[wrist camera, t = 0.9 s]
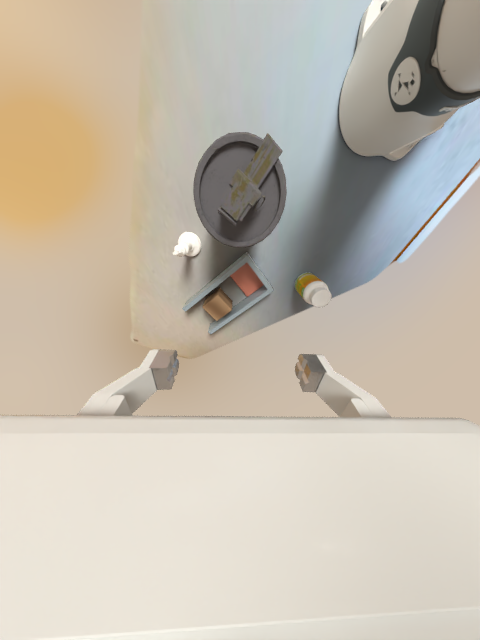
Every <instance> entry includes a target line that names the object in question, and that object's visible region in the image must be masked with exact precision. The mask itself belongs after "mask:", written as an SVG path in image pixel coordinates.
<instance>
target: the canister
mask: <svg viewBox="0 0 480 640" xmlns="http://www.w3.org/2000/svg"><path fill="white" fill-rule="evenodd" d="M281 153H282V150H281V149H280V147H279V146H278V145H277V144H276V143H275V141H274V140H273V139H272V138H271V136H270V135H269V134H267V135H266V137H265V138H264V140H263V139H261V138H260V137H258V136H256V135H254V134H251V133H248V132H236V133H228V134H226V135H225V136H223V137H221V138H219V139H217V140H216V141H215V142H214V143H213V144H212V145H211V146H210V147H209V148H208V149H207V151H206V152H205V153H204V155H203V156H202V158H201V160H200V161H199V163H198V166H197V170H196V173H195V178H194V200H195V206H196V210H197V213H198V216H199V218H200V220H201V222H202V224H203V226H204V227H205V228H206V230H207V231H208V232H209V233H210V234H211V235H212V236H213V237H214V238H215V239H217V240H218V241H220V242H221V243H223V244H225V245H228V246H231V247H237V248H241V247H249V246H252V245H255V244H257V243H259V242H261V241H262V240H264V239H265V238H266V237H267V236H268V235H269V234H271V232H272V231H273V229H274V228H275V227H276V225H277V224H278V222H279V220H280V218H281V215H282V213H283V210H284V207H285V200H286V178H285V174H284V170H283V167H282V164H281V162H280V160H279V159H278V158H279V156H280V155H281Z"/></svg>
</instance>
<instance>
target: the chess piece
mask: <svg viewBox="0 0 480 640" xmlns="http://www.w3.org/2000/svg"><path fill="white" fill-rule="evenodd" d="M200 250H201V242H200V239H199V238H198V236H197V235H195V234H194V233H191V232H185V233H183V234H182V235H181V236H180V237H179V240H178V245H176V246H175V248H174V252H173V254H174V255H175V254H176V255H177V256H180V257H182V256H184V255H187V256H196V255H197V254H198V253H199V252H200Z"/></svg>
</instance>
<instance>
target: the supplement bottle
mask: <svg viewBox="0 0 480 640" xmlns="http://www.w3.org/2000/svg"><path fill="white" fill-rule="evenodd" d="M295 289H296V290H297V292H298V293H299V294H300V295H301V297H302V298H303V299H304V300H305V301H306V302H307V303H308V304H311V305H314V306H315V307H323V306H326V305H327V304H328V303H329V302H330V300H331V297H332V295H331V293H330V291H329V289H328V286H327V285H326V284H325V283H324V282H323V281H321V280H320V279H319V278H317V277H316V276H315V275H313V274H312V273H303V274H301V275H300V276H299V277H298V278H297V279H296V281H295Z"/></svg>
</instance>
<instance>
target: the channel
mask: <svg viewBox="0 0 480 640" xmlns="http://www.w3.org/2000/svg"><path fill="white" fill-rule="evenodd" d="M229 276H231V278H232V279H233V280H234V281H235V282H236V284H237V285H238V286H239V287H240V288H241V290H242V291H243V292H244V293H245V294H246V296H247V298H245V299H244V300H243V301H241V302H240V303H238V304H237V305H236V306H234V307H233V308H232V310H231V311H230V312H229V313H227V314H226V315H224V316H223V317H222V318H220V319H219V320H218V321H216V320H215V321H214V322H212V323H211V324H210V327H209V331H208V332H209V333H210V334H212V333H214V332H215V331H217V330H218V329H219V328H221V327H222V326H224V325H225V324H227V323H228V322H230V321H231V320H232V319H234V318H235V317H237V316H238V315H240V314H241V313H242V312H244V311H245V310H247V309H248V308H250V307H251V306H253V305H254V304H255V303H257V302H258V301H260V300H261V299H263V298H264V297H265V296H267V295H268V294H270V293H271V292H273V291H274V290H273V288H272V286H271V284H270V283H269V281H268V280H267V279H266V277H265V276H264V274H263V273H262V272H261V270H260V269H259V268H258V266H257V265H256V263H255V262H254V261H253V259H252V258H251V256H250V255H249V254H248V252H246V253H245V254H244V255H242V256H241V257H240V258H239V259H237V260H236V261H235V262H234V263H233V264H231V265H230V266H229V267H228V268H227V269H225V270H224V271H223V272H222V273H221V274H219V275H218V276H217V277H216V278H215V279H213V280H212V281H211V282H210V283H208V284H207V285H206V286H205V287H204V288H202V289H201V290H200V291H199V292H198V293H196V294H195V295H194V296H193V297H192V298H190V299H189V300H188V301H187V302H186V303H185V305H184V307H183V310H184V311H185V312H186V311H187V310H188V309H189V308H191V307H192V306H193V305H194V304H196V303H197V302H198V301H199V300H201V299H202V298H203V297H204V296H206V295H207V294H208V293H209V292H211V291H212V290H213V289H214V288H216V287H217V286H218V285H219V284H220V283H222V282H223V281H224V280H225V279H227V278H228V277H229ZM260 287H261V288H260ZM253 292H254V293H253ZM249 295H250V296H249Z"/></svg>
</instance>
